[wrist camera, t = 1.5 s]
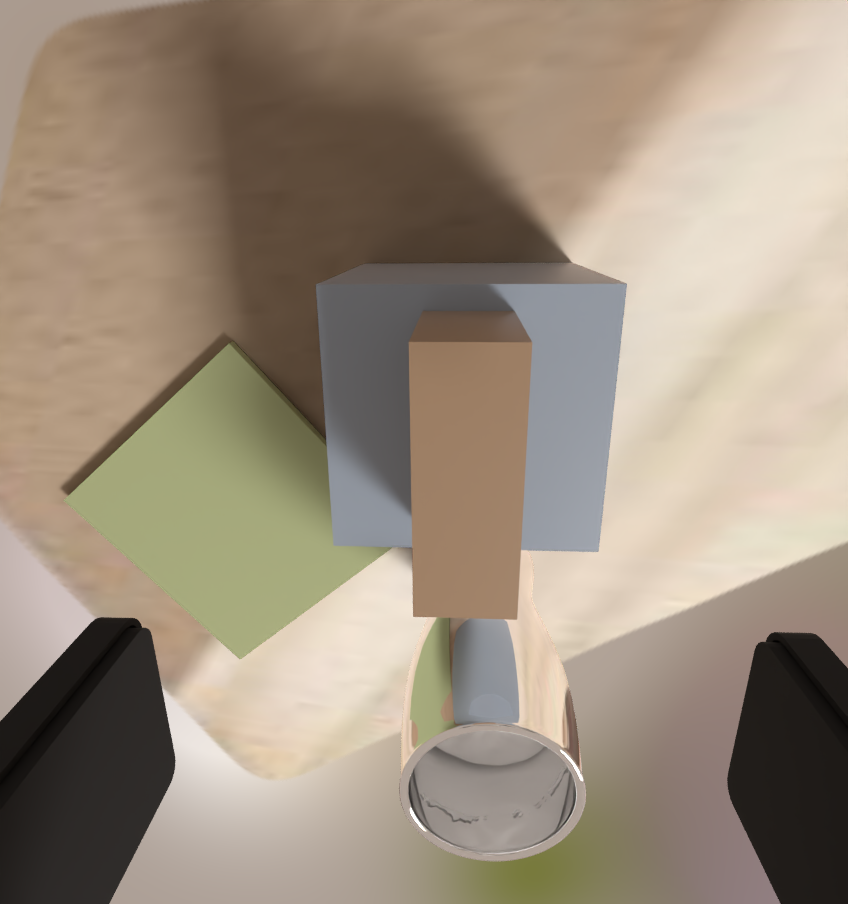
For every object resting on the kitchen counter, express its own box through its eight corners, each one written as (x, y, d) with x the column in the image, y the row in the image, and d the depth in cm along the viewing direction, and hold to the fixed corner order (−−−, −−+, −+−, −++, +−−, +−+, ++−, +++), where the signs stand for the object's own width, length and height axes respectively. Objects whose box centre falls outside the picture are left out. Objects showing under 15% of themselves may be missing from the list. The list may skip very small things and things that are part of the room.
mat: (233, 340, 32) (229, 343, 31) (410, 530, 35) (409, 535, 34) (69, 495, 35) (63, 500, 35) (243, 653, 39) (240, 659, 38)
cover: (571, 262, 29) (685, 306, 14) (557, 452, 33) (637, 647, 18) (364, 263, 30) (264, 306, 15) (371, 449, 33) (296, 636, 18)
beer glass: (483, 492, 34) (497, 685, 20) (566, 572, 35) (634, 804, 21) (395, 566, 36) (352, 790, 22) (478, 639, 37) (486, 892, 23)
